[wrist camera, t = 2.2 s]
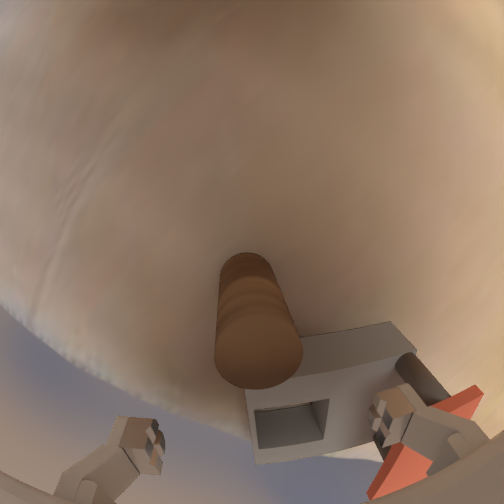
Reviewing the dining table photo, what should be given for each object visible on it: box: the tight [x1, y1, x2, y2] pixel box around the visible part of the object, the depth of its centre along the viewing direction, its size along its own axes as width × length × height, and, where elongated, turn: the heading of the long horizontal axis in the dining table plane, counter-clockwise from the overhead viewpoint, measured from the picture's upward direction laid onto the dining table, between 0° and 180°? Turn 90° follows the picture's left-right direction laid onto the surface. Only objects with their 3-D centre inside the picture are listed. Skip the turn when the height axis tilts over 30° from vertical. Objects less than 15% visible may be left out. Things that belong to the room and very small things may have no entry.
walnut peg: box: [214, 253, 303, 390], centre depth 17 cm, size 4×4×10 cm
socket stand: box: [244, 321, 484, 500], centre depth 20 cm, size 12×16×12 cm
